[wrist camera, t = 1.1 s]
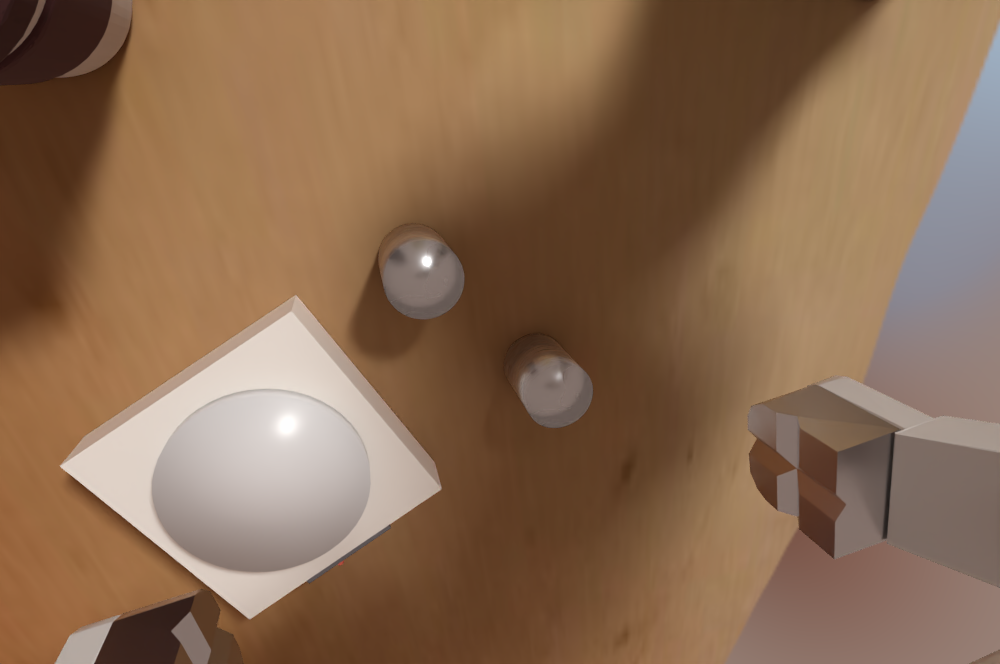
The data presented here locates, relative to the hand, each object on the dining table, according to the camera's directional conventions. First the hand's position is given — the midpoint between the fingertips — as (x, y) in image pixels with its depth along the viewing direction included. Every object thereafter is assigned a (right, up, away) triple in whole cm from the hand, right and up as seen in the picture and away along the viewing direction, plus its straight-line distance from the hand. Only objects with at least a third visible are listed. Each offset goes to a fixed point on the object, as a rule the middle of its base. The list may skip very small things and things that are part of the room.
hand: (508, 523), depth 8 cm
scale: (-14, -4, +26) cm, 30 cm away
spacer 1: (-5, +7, +25) cm, 26 cm away
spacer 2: (+2, +1, +29) cm, 29 cm away
